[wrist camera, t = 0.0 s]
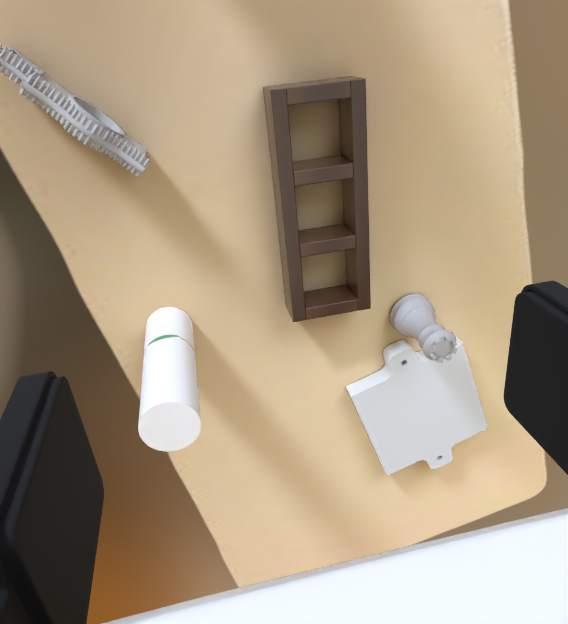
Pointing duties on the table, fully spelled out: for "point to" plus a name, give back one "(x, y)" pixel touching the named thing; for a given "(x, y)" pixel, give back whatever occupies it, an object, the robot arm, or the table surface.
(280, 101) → the piece stand
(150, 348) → the tube
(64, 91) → the white ornate piece
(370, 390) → the mounting plate
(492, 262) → the table surface
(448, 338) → the rook chess piece
